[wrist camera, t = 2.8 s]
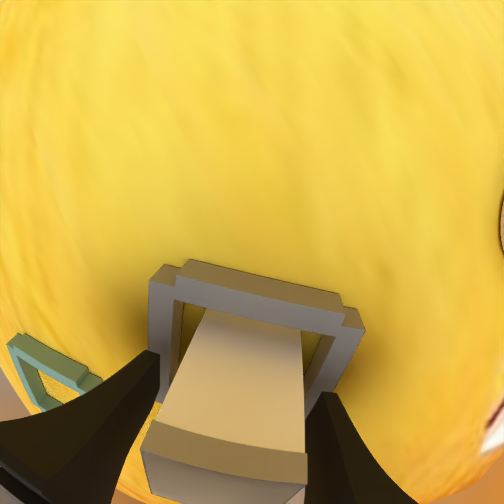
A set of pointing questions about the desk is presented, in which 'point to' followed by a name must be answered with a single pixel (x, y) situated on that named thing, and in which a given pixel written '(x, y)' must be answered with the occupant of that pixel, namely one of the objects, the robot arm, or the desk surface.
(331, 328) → the socket
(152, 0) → the desk surface
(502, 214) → the supplement bottle
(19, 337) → the socket
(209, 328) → the plug
